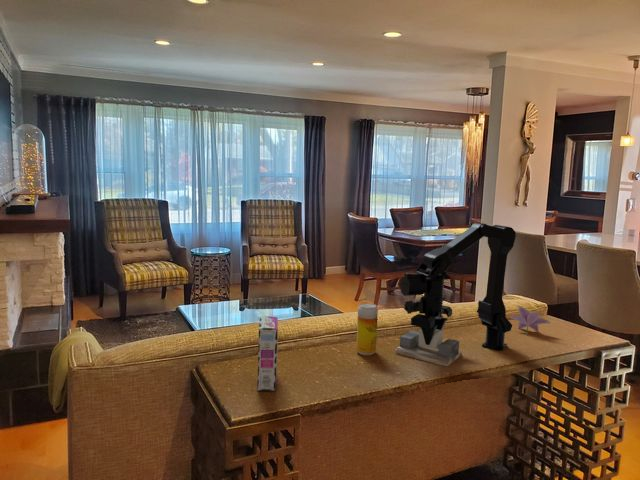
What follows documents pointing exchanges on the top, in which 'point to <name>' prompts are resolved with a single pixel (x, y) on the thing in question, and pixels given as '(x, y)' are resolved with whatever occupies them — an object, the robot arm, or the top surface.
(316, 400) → the top surface
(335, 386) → the top surface
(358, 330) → the beer can
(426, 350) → the rail board
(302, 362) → the top surface
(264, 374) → the candy bar box
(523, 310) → the lily
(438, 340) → the module block
